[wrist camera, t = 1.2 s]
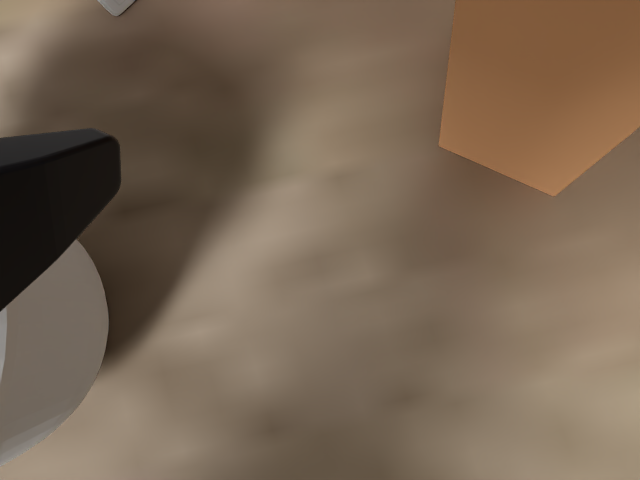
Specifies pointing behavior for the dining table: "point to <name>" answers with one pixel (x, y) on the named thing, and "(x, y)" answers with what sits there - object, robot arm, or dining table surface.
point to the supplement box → (115, 5)
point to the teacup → (50, 350)
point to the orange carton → (541, 86)
